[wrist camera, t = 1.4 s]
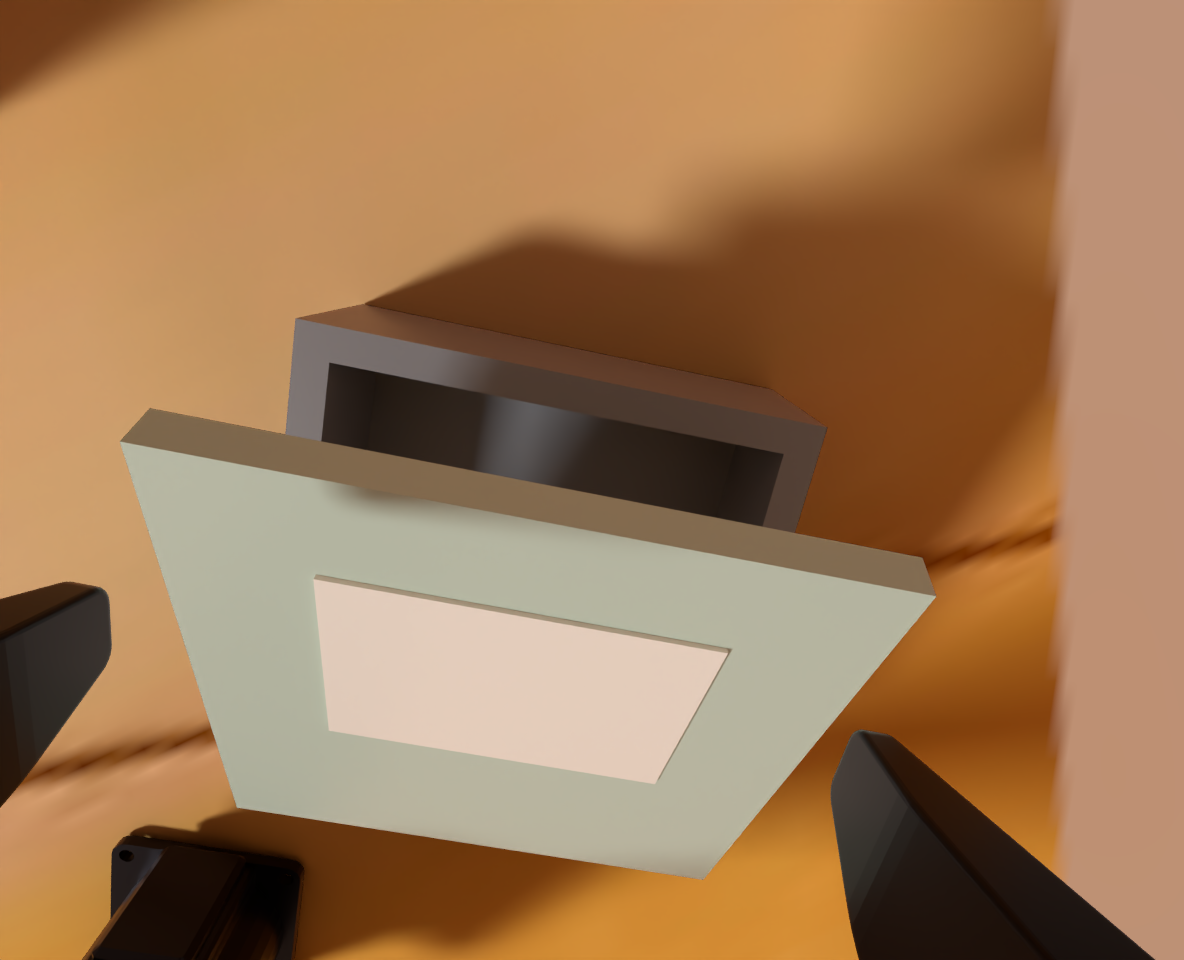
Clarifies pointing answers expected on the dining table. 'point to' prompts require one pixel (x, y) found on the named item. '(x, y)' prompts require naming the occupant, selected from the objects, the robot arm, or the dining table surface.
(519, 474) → the storage box
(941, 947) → the robot arm
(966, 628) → the dining table surface
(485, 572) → the lid
